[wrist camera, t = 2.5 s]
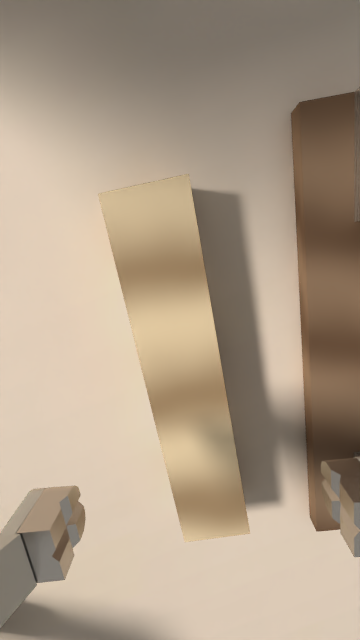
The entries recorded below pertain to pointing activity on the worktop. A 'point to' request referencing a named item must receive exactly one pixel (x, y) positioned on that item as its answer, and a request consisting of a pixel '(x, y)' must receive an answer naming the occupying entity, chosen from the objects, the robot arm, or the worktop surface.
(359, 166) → the end caps
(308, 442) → the base board
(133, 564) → the worktop surface
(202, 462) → the pine slat
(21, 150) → the worktop surface
